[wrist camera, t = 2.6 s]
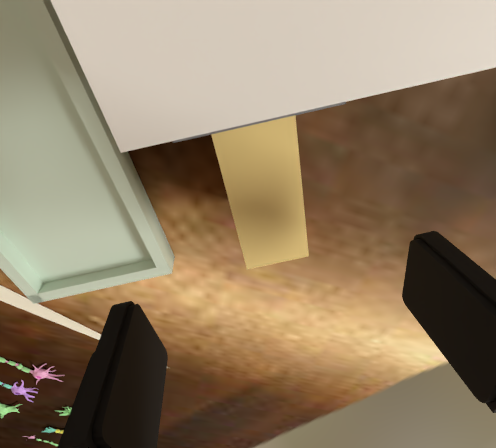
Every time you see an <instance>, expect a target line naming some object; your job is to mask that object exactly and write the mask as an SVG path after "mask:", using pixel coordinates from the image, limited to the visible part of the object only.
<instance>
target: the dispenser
mask: <svg viewBox="0 0 496 448" xmlns="http://www.w3.org/2000/svg"><path fill="white" fill-rule="evenodd" d="M51 2H52V5H53V7H54V9H55V11H56V13H57V15H58V18H59V20H60V22H61V24H62V26H63V28H64V31H65V33H66V35H67V37H68V39H69V41H70V44H71V46H72V48H73V50H74V52H75V54H76V57H77V59H78V61H79V63H80V65H81V67H82V70H83V72H84V74H85V76H86V78H87V80H88V83H89V85H90V87H91V89H92V91H93V93H94V96H95V98H96V100H97V102H98V104H99V106H100V109H101V111H102V113H103V115H104V117H105V120H106V122H107V124H108V126H109V128H110V130H111V133H112V135H113V137H114V139H115V141H116V143H117V146H118V148H119V150H120V152H121V153H122V152H127V151H131V150H135V149H140V148H144V147H149V146H153V145H157V144H162V143H166V142H171V141H173V143H176V142H180V141H185V140H189V139H193V138H198V137H202V136H206V135H211V134H215V133H220V132H224V131H228V130H233V129H237V128H242V127H246V126H250V125H255V124H259V123H264V122H268V121H272V120H277V119H281V118H285V117H290V116H294V115H299V114H303V113H307V112H312V111H316V110H321V109H325V108H329V107H334V106H338V105H343V104H346V101H351V100H355V99H359V98H364V97H368V96H372V95H377V94H381V93H386V92H390V91H394V90H399V89H403V88H408V87H412V86H416V85H421V84H425V83H429V82H434V81H438V80H443V79H447V78H451V77H456V76H460V75H465V74H469V73H473V72H478V71H482V70H487V69H491V68H495V67H496V0H51Z"/></svg>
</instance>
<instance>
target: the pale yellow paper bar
mask: <svg viewBox="0 0 496 448" xmlns="http://www.w3.org/2000/svg"><path fill="white" fill-rule="evenodd" d="M211 135H212V139H213V143H214V147H215V151H216V154H217V158H218V162H219V166H220V169H221V173H222V177H223V181H224V184H225V188H226V192H227V196H228V200H229V203H230V207H231V211H232V215H233V218H234V222H235V226H236V230H237V233H238V237H239V241H240V245H241V249H242V252H243V256H244V260H245V264H246V267H247V270H248V269H252V268H257V267H261V266H266V265H271V264H275V263H280V262H284V261H289V260H293V259H298V258H303V257H307V256H309V254H308V244H307V233H306V223H305V212H304V202H303V192H302V181H301V171H300V160H299V150H298V139H297V129H296V118H295V115H294V116H290V117H285V118H281V119H277V120H272V121H268V122H264V123H259V124H255V125H250V126H246V127H242V128H237V129H233V130H228V131H224V132H220V133H215V134H211Z"/></svg>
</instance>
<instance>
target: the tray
mask: <svg viewBox="0 0 496 448" xmlns="http://www.w3.org/2000/svg"><path fill="white" fill-rule="evenodd" d="M174 258H175V256H174V254H173V252H172V250H171V247H170V245H169V243H168V241H167V238H166V236H165V234H164V232H163V229H162V227H161V225H160V223H159V220H158V218H157V216H156V214H155V211H154V209H153V207H152V205H151V202H150V200H149V198H148V196H147V193H146V191H145V189H144V187H143V185H142V182H141V180H140V178H139V176H138V173H137V171H136V169H135V167H134V164H133V162H132V160H131V158H130V155H129V153H128V151H127V152H122V153H121V152H120V150H119V148H118V146H117V143H116V141H115V139H114V137H113V135H112V133H111V130H110V128H109V126H108V124H107V122H106V120H105V117H104V115H103V113H102V111H101V109H100V106H99V104H98V102H97V100H96V98H95V96H94V93H93V91H92V89H91V87H90V85H89V83H88V80H87V78H86V76H85V74H84V72H83V70H82V67H81V65H80V63H79V61H78V59H77V57H76V54H75V52H74V50H73V48H72V46H71V44H70V41H69V39H68V37H67V35H66V33H65V31H64V28H63V26H62V24H61V22H60V20H59V18H58V15H57V13H56V11H55V9H54V7H53V5H52V2H51V0H0V268H1V270H2V271H3V272H4V273H5V274H6V275H7V276H8V277H9V278H10V279H11V280H12V281H13V282H14V284H15V285H16V286H17V287H18V288H19V289H20V290H21V291H22V292H23V293H24V294H25V295H26V296H27V298H28V299H29V300H30V301H31V302H32V303H33V304H35V303H39V302H44V301H48V300H53V299H58V298H62V297H67V296H71V295H76V294H80V293H85V292H89V291H94V290H99V289H103V288H108V287H112V286H117V285H121V284H126V283H130V282H135V281H140V280H144V279H149V278H153V277H158V276H162V275H167V274H171V273H172V270H173V264H174Z"/></svg>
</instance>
